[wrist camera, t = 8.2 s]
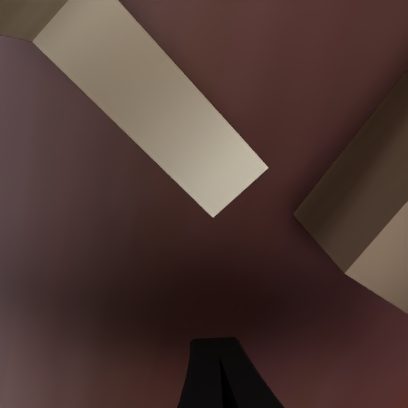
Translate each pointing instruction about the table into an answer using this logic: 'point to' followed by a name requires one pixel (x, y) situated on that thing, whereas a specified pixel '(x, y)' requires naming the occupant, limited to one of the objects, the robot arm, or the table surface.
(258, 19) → the table surface
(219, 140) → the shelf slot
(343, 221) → the block
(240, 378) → the robot arm
